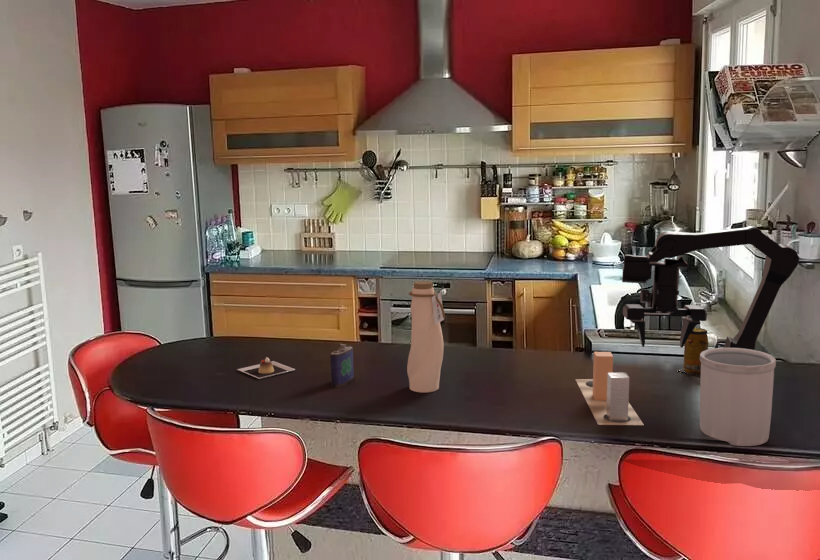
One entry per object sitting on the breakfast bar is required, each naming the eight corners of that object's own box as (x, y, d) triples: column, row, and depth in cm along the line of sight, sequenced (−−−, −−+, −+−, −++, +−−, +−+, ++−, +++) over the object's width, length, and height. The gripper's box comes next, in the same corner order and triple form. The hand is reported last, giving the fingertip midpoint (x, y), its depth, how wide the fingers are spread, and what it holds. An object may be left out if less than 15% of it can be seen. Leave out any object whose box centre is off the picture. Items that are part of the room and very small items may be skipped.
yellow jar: (690, 366, 210) (692, 325, 208) (719, 373, 204) (721, 330, 202) (676, 372, 206) (678, 329, 204) (705, 378, 199) (707, 335, 197)
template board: (644, 428, 165) (644, 424, 165) (598, 428, 165) (598, 424, 165) (613, 382, 197) (613, 379, 197) (575, 382, 198) (575, 379, 198)
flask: (348, 377, 205) (346, 339, 203) (357, 378, 204) (356, 340, 202) (329, 386, 197) (327, 347, 195) (338, 388, 196) (337, 348, 194)
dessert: (237, 373, 212) (236, 356, 211) (273, 364, 220) (272, 348, 219) (258, 382, 203) (257, 365, 202) (295, 373, 211) (295, 356, 210)
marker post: (609, 394, 185) (610, 351, 183) (611, 400, 181) (613, 356, 179) (592, 394, 185) (593, 351, 183) (594, 399, 181) (596, 356, 179)
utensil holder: (683, 435, 161) (687, 356, 158) (713, 417, 171) (717, 343, 168) (753, 454, 150) (759, 370, 147) (781, 433, 161) (787, 355, 158)
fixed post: (627, 420, 167) (629, 378, 165) (609, 420, 167) (611, 377, 166) (623, 414, 171) (625, 372, 169) (606, 414, 171) (607, 372, 170)
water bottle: (449, 384, 198) (449, 280, 193) (442, 394, 189) (441, 286, 184) (412, 381, 200) (411, 278, 195) (403, 391, 192) (401, 284, 187)
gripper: (695, 278, 187) (691, 339, 190) (619, 277, 189) (616, 337, 191) (709, 287, 176) (705, 350, 179) (629, 286, 178) (625, 349, 180)
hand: (662, 346), depth 183 cm, fingers open, 9 cm apart
